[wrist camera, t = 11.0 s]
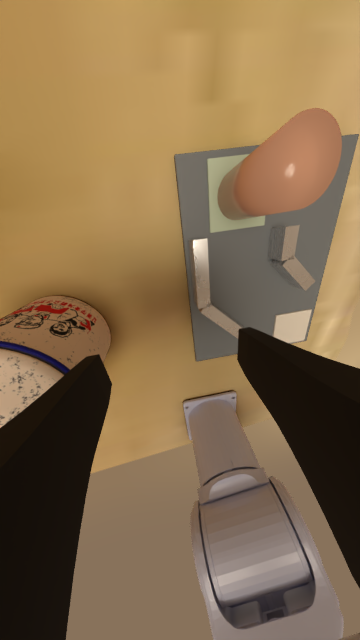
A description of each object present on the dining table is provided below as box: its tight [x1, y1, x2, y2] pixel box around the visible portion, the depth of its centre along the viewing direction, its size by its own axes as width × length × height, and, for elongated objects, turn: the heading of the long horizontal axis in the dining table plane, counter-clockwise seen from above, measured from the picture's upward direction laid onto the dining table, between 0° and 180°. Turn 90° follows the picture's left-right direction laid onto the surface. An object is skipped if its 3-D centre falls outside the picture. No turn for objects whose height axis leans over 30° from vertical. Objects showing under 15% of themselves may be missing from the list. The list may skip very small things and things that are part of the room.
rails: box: [188, 225, 315, 339], centre depth 17 cm, size 12×12×2 cm
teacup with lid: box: [0, 296, 111, 428], centre depth 13 cm, size 12×9×12 cm
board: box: [174, 134, 359, 362], centre depth 18 cm, size 20×15×1 cm
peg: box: [217, 108, 342, 220], centre depth 11 cm, size 4×4×7 cm
